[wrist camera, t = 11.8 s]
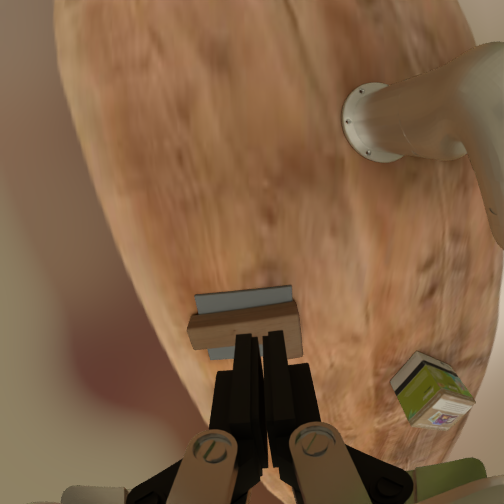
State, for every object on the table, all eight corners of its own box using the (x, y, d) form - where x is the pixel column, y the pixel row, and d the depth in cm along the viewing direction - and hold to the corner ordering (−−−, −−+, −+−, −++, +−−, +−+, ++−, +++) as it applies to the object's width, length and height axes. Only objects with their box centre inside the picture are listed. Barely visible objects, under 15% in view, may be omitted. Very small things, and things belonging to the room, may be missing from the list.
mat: (291, 284, 48) (291, 286, 48) (295, 350, 53) (295, 352, 52) (195, 294, 49) (194, 296, 48) (210, 357, 54) (210, 359, 53)
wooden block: (303, 357, 47) (200, 370, 49) (300, 341, 52) (203, 354, 53) (299, 314, 44) (185, 329, 45) (295, 299, 49) (190, 314, 50)
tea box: (450, 363, 56) (477, 402, 42) (424, 391, 59) (446, 433, 45) (416, 348, 54) (445, 394, 40) (387, 381, 57) (409, 429, 43)
